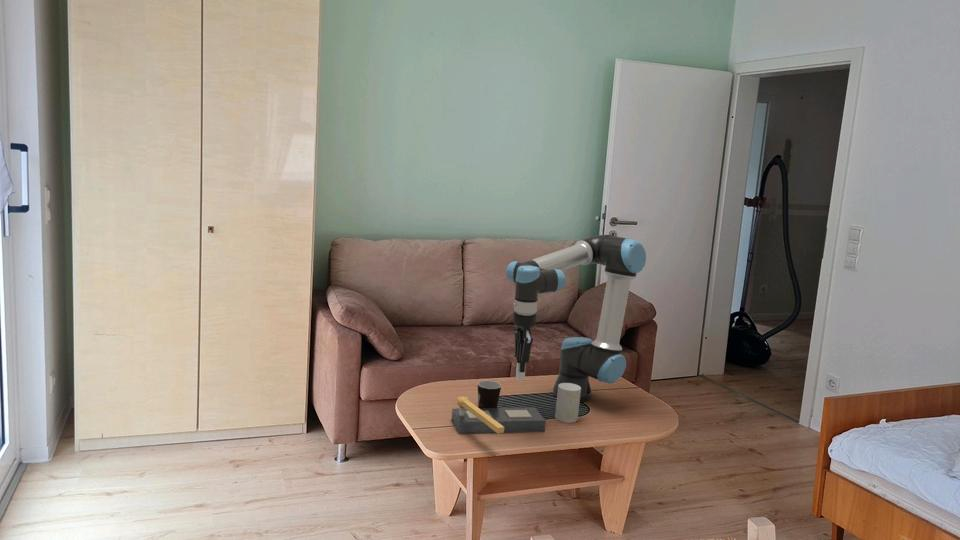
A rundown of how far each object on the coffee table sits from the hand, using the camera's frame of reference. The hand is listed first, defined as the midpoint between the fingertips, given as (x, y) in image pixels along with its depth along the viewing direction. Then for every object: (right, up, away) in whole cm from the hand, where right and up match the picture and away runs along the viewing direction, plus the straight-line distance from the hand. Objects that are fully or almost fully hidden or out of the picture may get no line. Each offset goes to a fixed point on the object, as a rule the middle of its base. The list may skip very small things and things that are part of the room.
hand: (520, 380), depth 246 cm
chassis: (-7, -16, +5) cm, 19 cm away
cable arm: (-14, -11, -10) cm, 20 cm away
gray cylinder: (+18, -16, +16) cm, 29 cm away
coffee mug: (-11, -14, +19) cm, 26 cm away
